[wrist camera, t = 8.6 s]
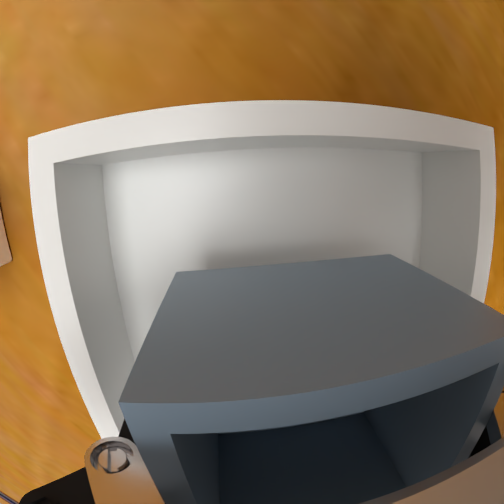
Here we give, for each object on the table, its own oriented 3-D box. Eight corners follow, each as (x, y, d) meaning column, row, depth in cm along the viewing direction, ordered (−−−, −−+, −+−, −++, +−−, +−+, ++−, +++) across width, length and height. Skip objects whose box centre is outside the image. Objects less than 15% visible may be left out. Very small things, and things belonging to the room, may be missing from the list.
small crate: (390, 253, 10) (524, 327, 4) (369, 410, 11) (429, 512, 6) (176, 272, 9) (118, 402, 3) (205, 434, 11) (203, 561, 5)
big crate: (424, 135, 13) (493, 127, 8) (398, 399, 17) (434, 449, 12) (89, 147, 12) (28, 137, 7) (147, 430, 16) (133, 492, 11)
